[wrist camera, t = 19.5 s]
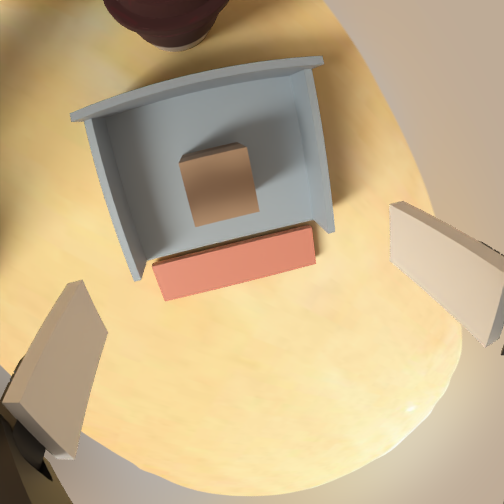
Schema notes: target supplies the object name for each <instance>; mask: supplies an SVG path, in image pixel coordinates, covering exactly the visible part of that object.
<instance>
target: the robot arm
mask: <svg viewBox="0 0 504 504" xmlns="http://www.w3.org/2000/svg"><path fill="white" fill-rule="evenodd" d="M389 212H390V262H391V263H393V264H394V265H395V266H396V267H397V268H399V269H400V270H401V271H402V272H403V273H404V274H406V275H407V276H408V277H409V278H410V279H411V280H413V281H414V282H415V283H416V284H417V285H418V286H420V287H421V288H422V289H423V290H424V291H425V292H426V293H427V294H429V295H430V296H431V297H432V298H433V299H434V300H435V301H436V302H437V303H439V304H440V305H441V306H442V307H443V308H444V309H445V310H446V311H447V312H448V313H450V314H451V315H452V316H453V317H454V318H455V319H456V320H457V321H458V322H459V323H460V324H461V325H462V326H463V327H464V328H466V329H467V330H468V331H469V332H470V333H471V334H472V335H473V336H474V337H475V338H476V339H477V340H478V341H479V342H480V343H481V344H482V345H483V346H484V347H487V346H488V345H490V344H492V343H493V342H495V341H496V340H498V339H499V338H500V335H501V332H502V329H503V326H504V255H503V254H501V255H500V253H499V252H498V251H496V250H493V249H492V248H491V247H490V246H487V245H486V244H484V243H483V242H480V241H477V240H475V239H474V238H472V237H470V236H468V235H467V234H465V233H463V232H461V231H459V230H458V229H456V228H454V227H452V226H451V225H449V224H447V223H445V222H443V221H441V220H439V219H438V218H436V217H434V216H432V215H430V214H428V213H426V212H424V211H422V210H420V209H418V208H416V207H414V206H412V205H410V204H408V203H406V202H404V201H402V202H397V203H393V204H389ZM107 334H108V331H107V330H106V328H105V326H104V324H103V322H102V320H101V318H100V316H99V314H98V312H97V310H96V308H95V306H94V304H93V302H92V300H91V297H90V295H89V293H88V291H87V289H86V287H85V285H84V282H83V280H79V281H75V282H72V283H68V284H67V285H66V287H65V288H64V290H63V292H62V293H61V295H60V296H59V298H58V299H57V301H56V303H55V304H54V306H53V307H52V309H51V311H50V312H49V314H48V316H47V317H46V319H45V321H44V322H43V324H42V326H41V328H40V329H39V331H38V333H37V334H36V336H35V338H34V340H33V342H32V343H31V345H30V347H29V349H28V351H27V353H26V354H25V356H24V357H23V358H22V359H21V360H20V361H19V363H18V365H17V367H16V369H15V371H14V374H13V375H12V377H11V379H10V382H9V383H8V385H7V387H6V389H5V391H4V393H3V395H2V397H1V400H0V504H73V503H72V501H71V500H70V498H69V497H68V495H67V493H66V492H65V490H64V488H63V487H62V485H61V483H60V481H59V479H58V478H57V476H56V474H55V472H54V470H53V468H52V467H51V465H50V463H49V462H48V461H47V459H46V458H44V453H45V449H46V450H47V451H49V452H50V453H51V454H52V455H53V456H54V457H55V458H56V459H67V460H68V459H69V460H75V457H76V452H77V447H78V442H79V438H80V433H81V429H82V424H83V420H84V416H85V412H86V408H87V404H88V400H89V396H90V392H91V388H92V385H93V381H94V377H95V374H96V370H97V367H98V363H99V360H100V357H101V353H102V350H103V347H104V344H105V340H106V337H107ZM501 355H504V346H503V348H502V351H501Z"/></svg>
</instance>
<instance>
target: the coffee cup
mask: <svg viewBox="0 0 504 504" xmlns="http://www.w3.org/2000/svg"><path fill="white" fill-rule="evenodd" d="M103 1H104V4H105V6H106V8H107V10H108V11H109V13H110V14H111V15H112V16H113V17H114V19H115V20H116V21H117V22H118V23H120V24H121V25H122V26H124V27H126V28H127V29H129V30H132V31H134V32H137V33H138V34H139V35H140V36H141V37H142V38H143V39H144V40H146V41H147V42H149V43H151V44H153V45H154V46H155V47H157V48H159V49H161V50H165V51H170V52H177V51H183V50H187V49H189V48H192V47H194V46H195V45H197V44H198V43H199V42H201V41H202V40H203V39H204V38H205V36H206V35H207V33H208V31H209V30H210V29H211V27H212V26H213V24H214V22H215V20H216V18H217V15H218V13H219V12H220V11H221V10H222V9H223V8H224V7H225V6H226V4H227V3H228V1H229V0H103Z"/></svg>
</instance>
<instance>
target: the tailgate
mask: <svg viewBox="0 0 504 504" xmlns="http://www.w3.org/2000/svg"><path fill="white" fill-rule="evenodd" d="M313 264H316V259H315V250H314V241H313V233H312V227H311V226H310V225H306V226H302V227H297V228H293V229H289V230H285V231H281V232H277V233H272V234H268V235H264V236H260V237H256V238H252V239H248V240H244V241H239V242H235V243H231V244H227V245H223V246H219V247H215V248H211V249H207V250H203V251H199V252H195V253H191V254H187V255H183V256H179V257H175V258H171V259H167V260H163V261H159V262H155V263H153V265H152V268H153V271H154V274H155V277H156V279H157V282H158V285H159V287H160V290H161V292H162V295H163V298H164V300H165V301H168V300H173V299H177V298H181V297H185V296H190V295H194V294H198V293H202V292H206V291H210V290H215V289H219V288H223V287H227V286H231V285H235V284H239V283H243V282H247V281H251V280H255V279H259V278H263V277H267V276H271V275H275V274H278V273H282V272H286V271H290V270H294V269H298V268H301V267H305V266H309V265H313Z"/></svg>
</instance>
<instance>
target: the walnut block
mask: <svg viewBox="0 0 504 504" xmlns="http://www.w3.org/2000/svg"><path fill="white" fill-rule="evenodd" d="M179 167H180V171H181V175H182V179H183V183H184V187H185V191H186V195H187V199H188V202H189V206H190V210H191V214H192V217H193V221H194V225H195V227H199V226H203V225H207V224H211V223H215V222H219V221H223V220H227V219H231V218H235V217H239V216H243V215H247V214H252V213H256V212H260V210H259V205H258V200H257V195H256V190H255V185H254V180H253V175H252V170H251V165H250V160H249V155H248V150H247V147H246V146H244V145H242V144H240V143H238V142H235V143H230V144H226V145H221V146H217V147H213V148H208V149H204V150H200V151H196V152H192V153H188V154H184V155H182V157H181V159H180V161H179Z"/></svg>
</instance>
